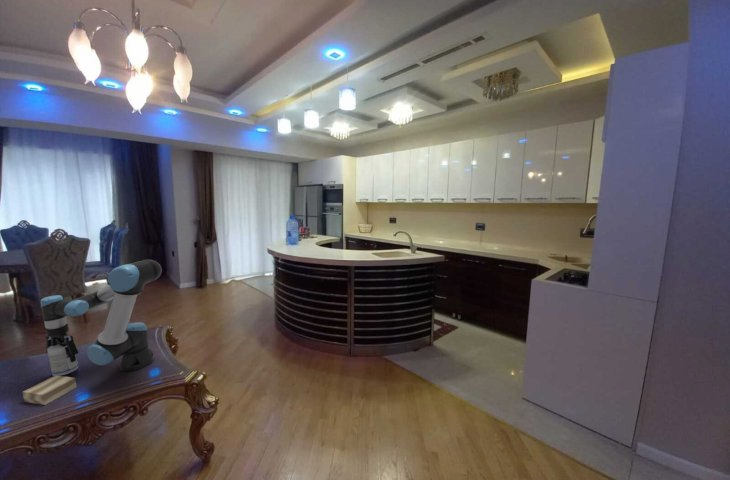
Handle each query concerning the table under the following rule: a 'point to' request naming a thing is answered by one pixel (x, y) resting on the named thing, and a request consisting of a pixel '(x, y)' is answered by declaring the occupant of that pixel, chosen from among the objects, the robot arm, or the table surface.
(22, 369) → the table surface
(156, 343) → the table surface
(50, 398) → the oak block
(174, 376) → the table surface
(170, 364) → the table surface
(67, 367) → the supplement tub
